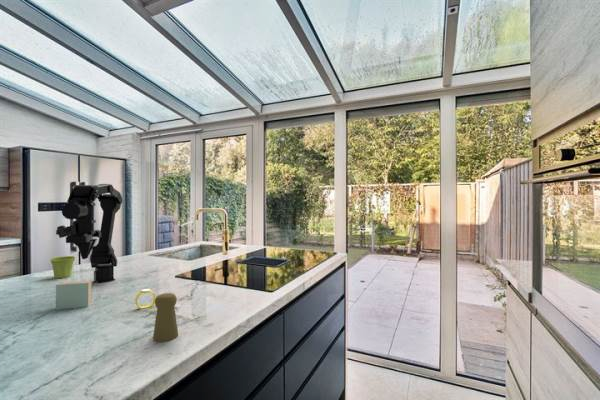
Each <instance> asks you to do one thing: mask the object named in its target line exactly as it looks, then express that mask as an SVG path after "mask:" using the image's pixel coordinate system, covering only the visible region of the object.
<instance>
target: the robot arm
mask: <svg viewBox="0 0 600 400" xmlns="http://www.w3.org/2000/svg"><path fill="white" fill-rule="evenodd" d="M96 199H97V200H98V202H99V207H100V208H101V210H102V211H103V212H102V217H101V222H100V223H101V224H100V229H95V223H97V220H96V219H95V206H96V203H95V201H96ZM66 202H67V203H66V204H64V206H63V207H62V208H61V215H62V216H63V218H65V219H67V220H73V222H72V224H71V225H68V226H65V225H64V224H63V225H59V226H57V227H56V230H55V234H56V235H58V237H59V239H61V238H65V244H74V245H75V246H77V248H78V250H79V251H78V252H79V254H80V256H81V259H82V260H86V259H88V258H89V262H90V267H91V269H94V270H93V281H94V282H96V283H97V284H100V283H107V282H112V281H115V280H116V278H114V276H115V275H114V274H115V273H114V272H115V271H114V267H118V259H117V256H116V254H115V250H114V248H113V246H112V240H113V232H114V225H115V218H116V214H117V213H118V212H119V210H120V209H121V206H122V204H123V196H122V194H121V192H120V191H119V190H117V189H116V188H115V187H114V186H113V184H110V183H100V184H95V185H93V184H76V185H74V186H73V188H71V191H70V193H69V197H68V198H67V200H66ZM97 238H98V239H97ZM97 240H98V243H97ZM95 243H97V244H96V245H95ZM90 253H91V254H90Z"/></svg>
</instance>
